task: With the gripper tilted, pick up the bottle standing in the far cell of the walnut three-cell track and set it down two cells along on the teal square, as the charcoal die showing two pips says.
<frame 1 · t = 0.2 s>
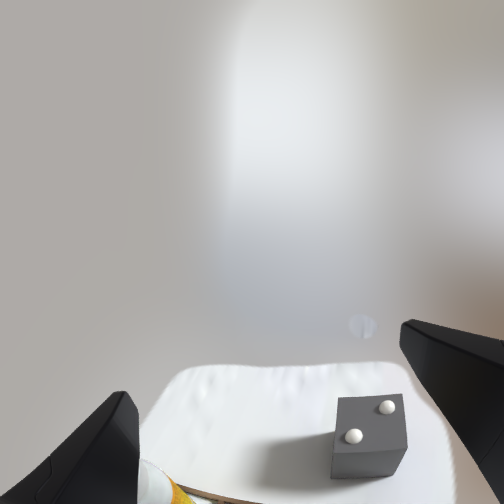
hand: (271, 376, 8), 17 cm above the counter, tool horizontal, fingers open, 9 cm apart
die: (363, 452, 18), on the counter
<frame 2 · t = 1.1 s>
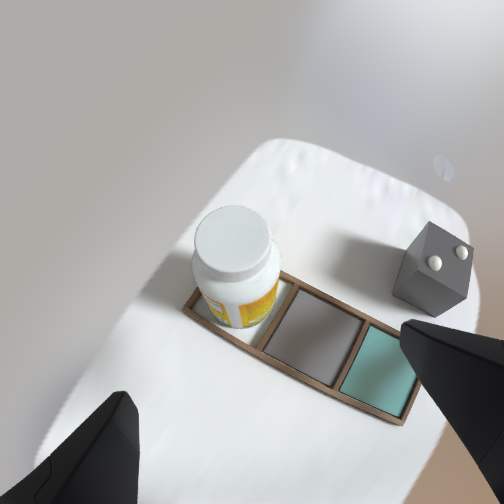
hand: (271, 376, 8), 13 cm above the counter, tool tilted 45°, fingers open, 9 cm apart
die: (421, 282, 23), on the counter
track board: (315, 337, 21), on the counter
supplement bottle: (242, 298, 23), resting on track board
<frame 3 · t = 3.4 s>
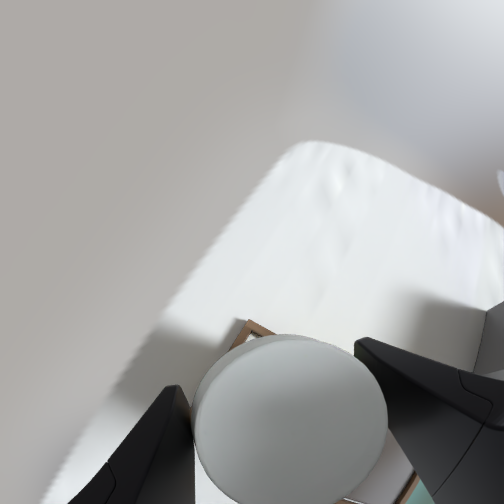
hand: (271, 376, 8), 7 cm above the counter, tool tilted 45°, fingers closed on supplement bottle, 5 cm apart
die: (501, 354, 13), on the counter
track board: (376, 455, 11), on the counter
supplement bottle: (272, 408, 13), resting on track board, touching gripper
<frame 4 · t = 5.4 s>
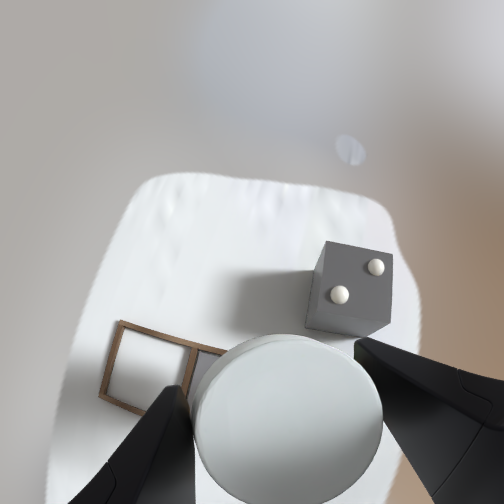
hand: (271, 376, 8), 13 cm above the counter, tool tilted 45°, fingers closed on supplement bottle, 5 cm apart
die: (339, 303, 22), on the counter
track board: (228, 397, 19), on the counter
supplement bottle: (271, 406, 14), point 6 cm above the counter, touching gripper
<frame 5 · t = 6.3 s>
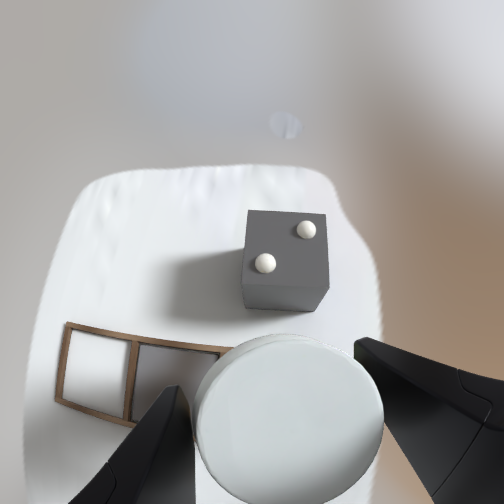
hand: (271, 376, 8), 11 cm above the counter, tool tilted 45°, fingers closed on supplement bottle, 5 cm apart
die: (281, 278, 22), on the counter
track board: (173, 389, 18), on the counter
supplement bottle: (272, 406, 14), point 4 cm above the counter, touching gripper
when the fingers open (8 cm above the counter, at t = 7.5 s): supplement bottle stays where it is, resting on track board.
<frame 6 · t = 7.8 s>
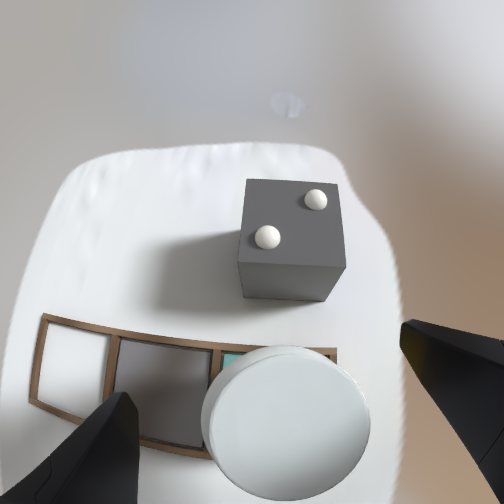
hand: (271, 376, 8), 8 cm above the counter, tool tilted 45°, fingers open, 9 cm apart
die: (285, 262, 19), on the counter
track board: (158, 393, 15), on the counter
supplement bottle: (272, 409, 14), resting on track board
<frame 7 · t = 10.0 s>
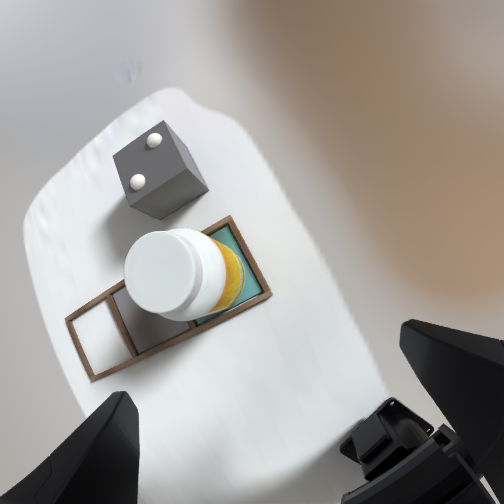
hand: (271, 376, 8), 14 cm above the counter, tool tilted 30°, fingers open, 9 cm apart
die: (173, 182, 24), on the counter
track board: (149, 311, 23), on the counter
supplement bottle: (214, 277, 23), resting on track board
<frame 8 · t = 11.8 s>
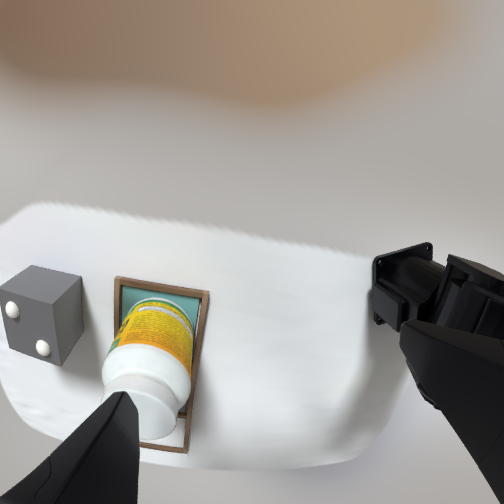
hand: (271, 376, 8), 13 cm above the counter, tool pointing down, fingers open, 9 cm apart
die: (56, 299, 19), on the counter
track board: (155, 385, 23), on the counter
supplement bottle: (159, 325, 21), resting on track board
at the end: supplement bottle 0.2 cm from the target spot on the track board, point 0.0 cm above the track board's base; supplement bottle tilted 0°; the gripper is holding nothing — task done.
